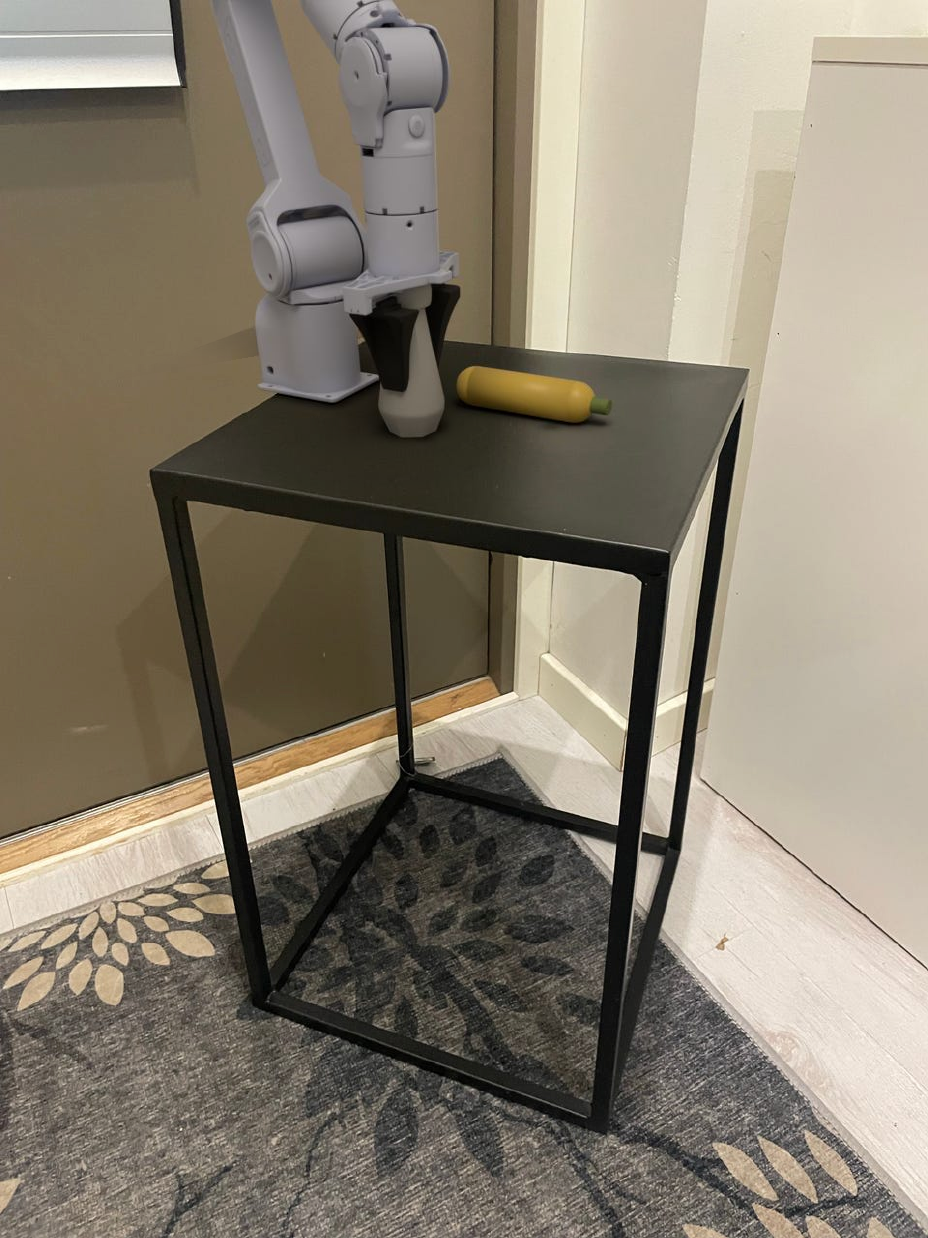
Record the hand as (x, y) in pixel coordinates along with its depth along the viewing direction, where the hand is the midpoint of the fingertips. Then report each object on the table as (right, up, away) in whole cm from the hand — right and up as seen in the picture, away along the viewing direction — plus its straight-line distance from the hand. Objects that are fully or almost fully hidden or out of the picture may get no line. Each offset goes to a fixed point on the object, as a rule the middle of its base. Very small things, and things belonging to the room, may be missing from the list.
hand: (410, 380), depth 79 cm
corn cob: (+10, -2, +5) cm, 12 cm away
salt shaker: (0, -4, +2) cm, 5 cm away
